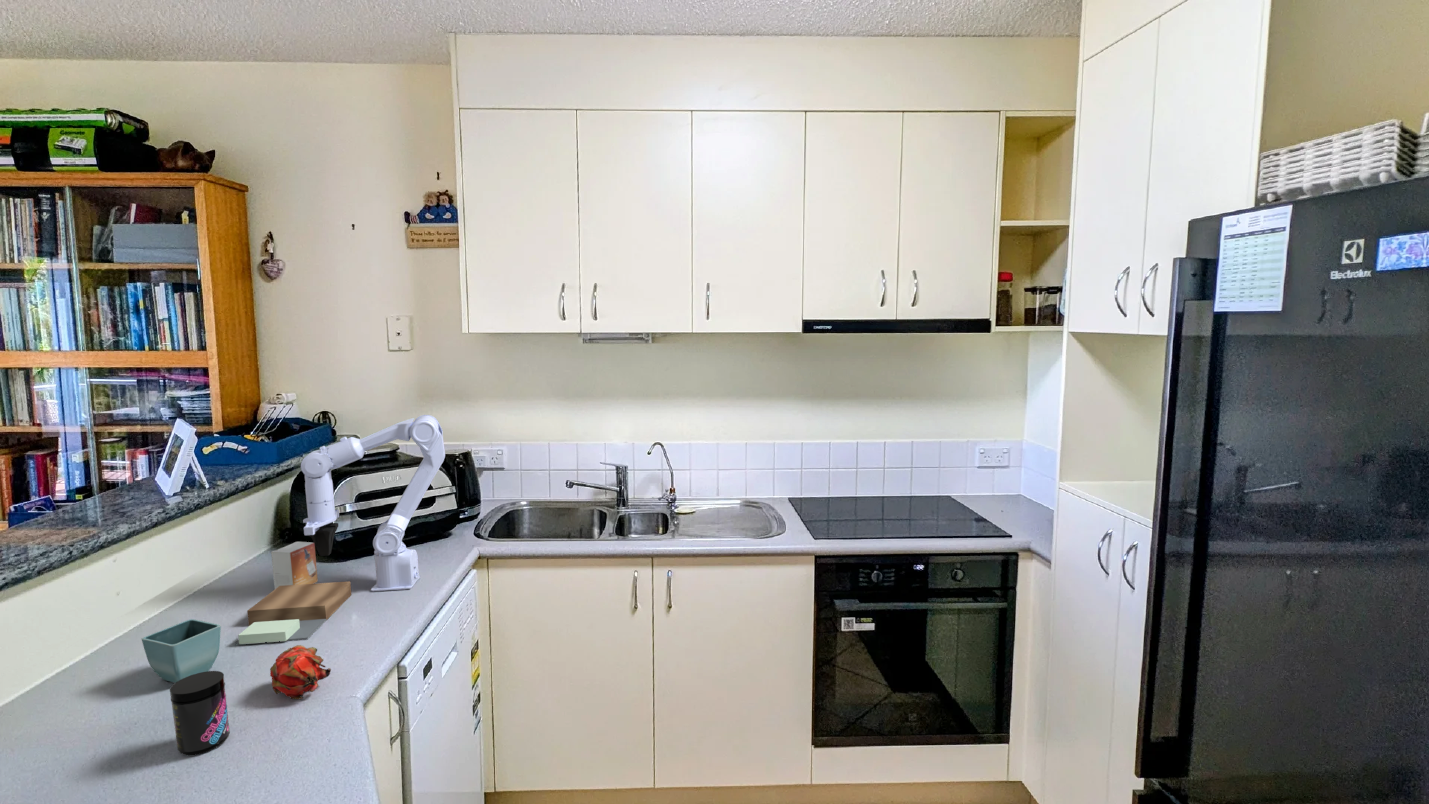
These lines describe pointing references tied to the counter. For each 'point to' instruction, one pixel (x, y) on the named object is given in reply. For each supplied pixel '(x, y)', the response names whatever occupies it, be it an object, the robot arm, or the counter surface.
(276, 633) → the sage green block
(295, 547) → the small box
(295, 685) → the dragon fruit
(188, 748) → the supplement container
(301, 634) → the mat
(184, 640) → the flower pot
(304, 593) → the brown flat block
